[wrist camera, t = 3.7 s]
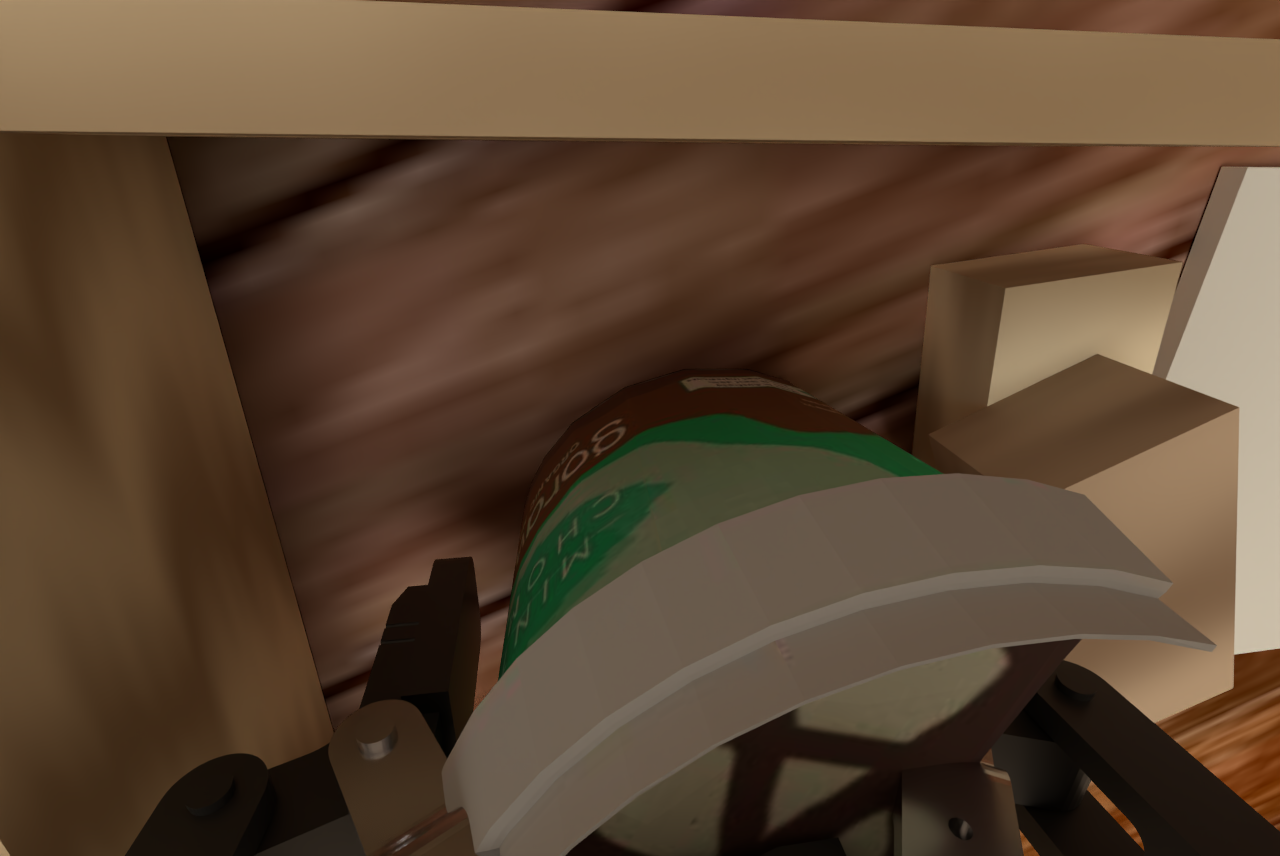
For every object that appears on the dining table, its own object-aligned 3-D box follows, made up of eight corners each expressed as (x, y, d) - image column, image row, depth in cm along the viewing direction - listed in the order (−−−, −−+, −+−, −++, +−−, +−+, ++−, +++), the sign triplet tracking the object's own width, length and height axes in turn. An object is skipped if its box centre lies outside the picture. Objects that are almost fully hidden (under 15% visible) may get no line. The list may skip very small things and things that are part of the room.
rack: (67, 58, 11) (-927, -129, 3) (1052, 85, 13) (1657, 15, 6) (308, 797, 19) (167, 1209, 11) (892, 716, 21) (1076, 1006, 14)
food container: (577, 222, 13) (684, 396, 4) (816, 325, 15) (1258, 604, 6) (414, 655, 17) (285, 1231, 8) (619, 694, 19) (700, 1196, 10)
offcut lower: (920, 262, 15) (1005, 288, 12) (1070, 241, 15) (1182, 262, 13) (885, 631, 20) (940, 706, 18) (998, 608, 21) (1068, 678, 18)
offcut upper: (928, 434, 14) (1026, 506, 11) (1097, 353, 13) (1239, 407, 11) (987, 662, 17) (1072, 759, 14) (1122, 601, 17) (1233, 687, 14)
